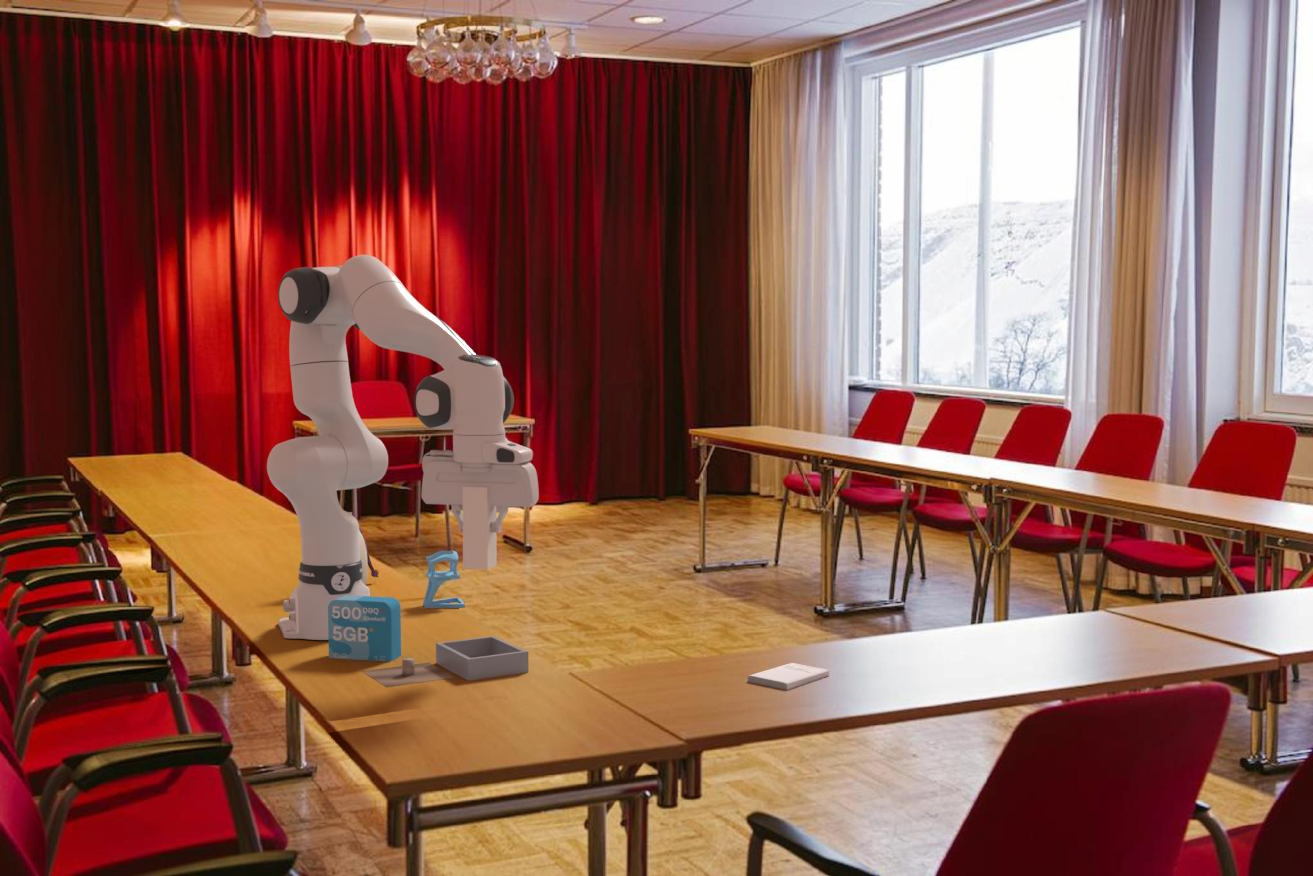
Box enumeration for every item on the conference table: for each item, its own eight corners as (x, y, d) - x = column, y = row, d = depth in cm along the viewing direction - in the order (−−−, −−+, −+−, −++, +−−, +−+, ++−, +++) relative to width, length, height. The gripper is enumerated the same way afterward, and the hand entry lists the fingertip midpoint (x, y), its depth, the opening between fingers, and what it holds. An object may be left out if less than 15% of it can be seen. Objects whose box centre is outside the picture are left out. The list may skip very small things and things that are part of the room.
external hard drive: (747, 684, 229) (790, 670, 238) (787, 692, 224) (829, 678, 233) (747, 674, 229) (790, 661, 238) (787, 683, 224) (829, 669, 233)
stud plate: (362, 679, 230) (361, 656, 230) (428, 670, 236) (428, 648, 236) (386, 696, 220) (386, 671, 219) (455, 686, 226) (455, 662, 226)
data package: (328, 666, 240) (327, 599, 239) (339, 660, 244) (338, 594, 243) (391, 670, 237) (390, 602, 236) (401, 664, 241) (400, 597, 240)
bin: (436, 671, 236) (436, 643, 235) (494, 663, 241) (493, 635, 241) (468, 689, 224) (468, 659, 223) (528, 680, 230) (528, 651, 229)
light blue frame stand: (421, 604, 295) (420, 549, 294) (459, 601, 298) (458, 547, 297) (426, 610, 288) (425, 555, 287) (465, 608, 290) (464, 552, 289)
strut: (463, 568, 230) (462, 486, 229) (472, 564, 234) (472, 484, 233) (487, 569, 228) (487, 487, 227) (496, 565, 233) (496, 484, 232)
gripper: (414, 451, 229) (415, 532, 230) (529, 453, 224) (529, 536, 225) (429, 448, 235) (430, 526, 236) (541, 450, 230) (542, 531, 231)
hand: (480, 531), depth 231 cm, fingers closed on strut, 4 cm apart
